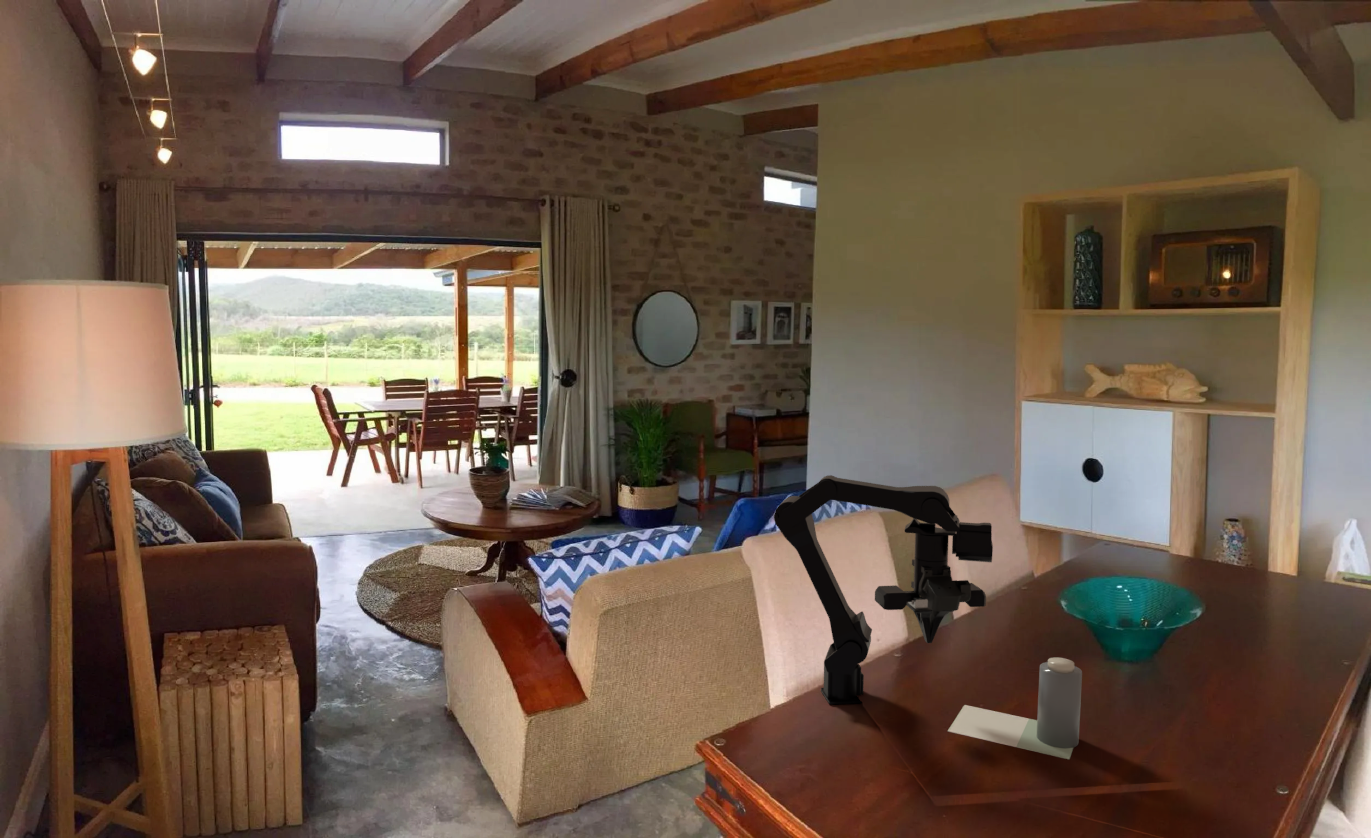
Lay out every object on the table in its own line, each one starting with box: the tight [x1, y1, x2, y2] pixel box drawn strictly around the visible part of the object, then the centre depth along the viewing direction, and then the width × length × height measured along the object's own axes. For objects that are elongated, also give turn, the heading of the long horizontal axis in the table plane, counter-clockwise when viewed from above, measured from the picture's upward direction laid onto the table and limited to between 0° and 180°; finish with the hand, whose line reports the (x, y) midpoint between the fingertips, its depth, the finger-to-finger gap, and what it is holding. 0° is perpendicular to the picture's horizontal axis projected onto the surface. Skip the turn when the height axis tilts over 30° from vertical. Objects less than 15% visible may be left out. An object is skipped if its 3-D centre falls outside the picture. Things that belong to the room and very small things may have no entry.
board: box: [947, 704, 1074, 760], centre depth 149 cm, size 19×12×1 cm, turn 59°
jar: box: [1036, 657, 1083, 749], centre depth 145 cm, size 6×6×13 cm
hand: (928, 642), depth 159 cm, fingers closed
